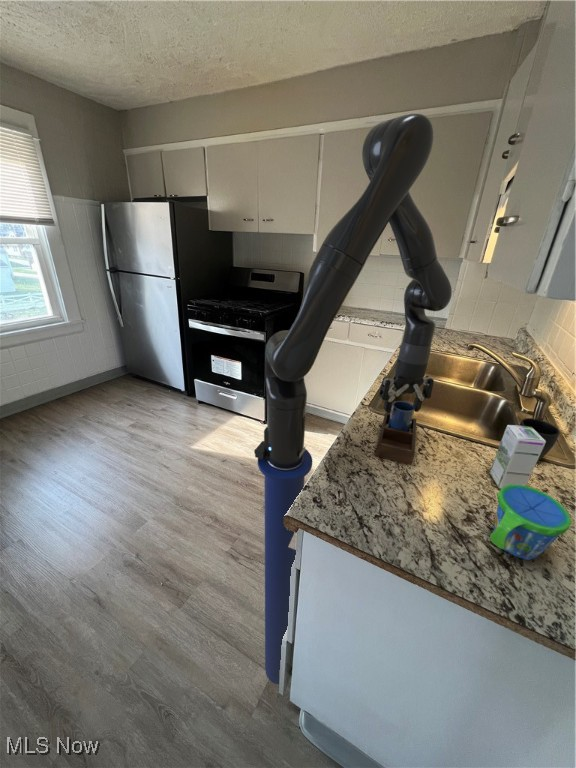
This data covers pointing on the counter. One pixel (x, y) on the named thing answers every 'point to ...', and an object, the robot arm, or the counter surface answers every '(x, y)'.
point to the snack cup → (527, 521)
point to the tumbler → (401, 416)
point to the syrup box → (516, 456)
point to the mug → (542, 433)
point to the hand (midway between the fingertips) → (401, 411)
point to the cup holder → (396, 442)
